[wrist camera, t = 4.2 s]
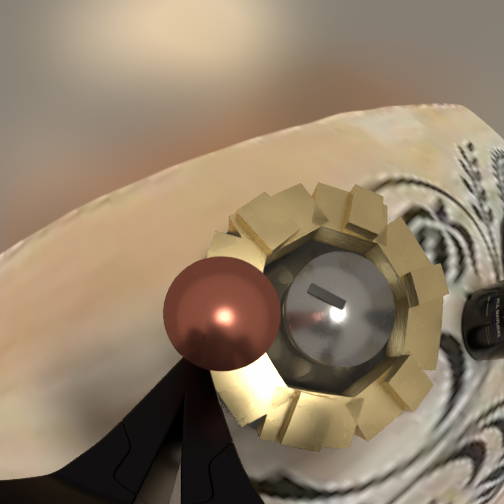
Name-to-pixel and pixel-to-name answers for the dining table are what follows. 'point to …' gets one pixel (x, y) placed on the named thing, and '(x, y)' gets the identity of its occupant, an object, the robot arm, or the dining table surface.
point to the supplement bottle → (485, 323)
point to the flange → (328, 317)
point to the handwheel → (268, 316)
